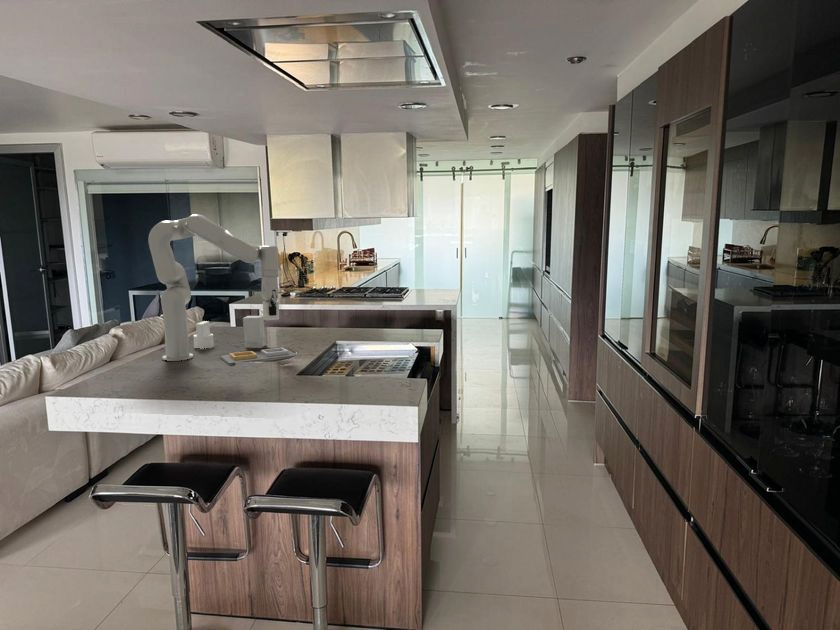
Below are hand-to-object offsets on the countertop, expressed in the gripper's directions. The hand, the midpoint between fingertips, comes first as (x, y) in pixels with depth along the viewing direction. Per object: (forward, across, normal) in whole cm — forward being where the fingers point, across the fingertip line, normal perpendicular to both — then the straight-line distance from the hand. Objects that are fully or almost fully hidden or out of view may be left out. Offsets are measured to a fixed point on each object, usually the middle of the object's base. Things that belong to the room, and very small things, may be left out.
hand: (271, 314), depth 255 cm
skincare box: (+19, -20, -2) cm, 28 cm away
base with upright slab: (+19, -36, -22) cm, 46 cm away
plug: (+2, 0, 0) cm, 2 cm away
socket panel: (+19, 0, -6) cm, 20 cm away
